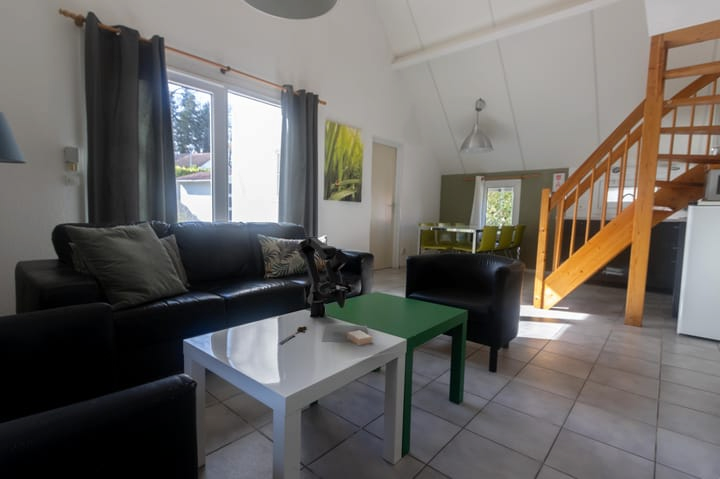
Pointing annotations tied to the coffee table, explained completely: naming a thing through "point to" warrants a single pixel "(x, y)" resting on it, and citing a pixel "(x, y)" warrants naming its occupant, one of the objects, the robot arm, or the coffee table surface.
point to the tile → (359, 337)
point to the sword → (302, 329)
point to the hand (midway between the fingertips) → (342, 307)
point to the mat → (340, 332)
